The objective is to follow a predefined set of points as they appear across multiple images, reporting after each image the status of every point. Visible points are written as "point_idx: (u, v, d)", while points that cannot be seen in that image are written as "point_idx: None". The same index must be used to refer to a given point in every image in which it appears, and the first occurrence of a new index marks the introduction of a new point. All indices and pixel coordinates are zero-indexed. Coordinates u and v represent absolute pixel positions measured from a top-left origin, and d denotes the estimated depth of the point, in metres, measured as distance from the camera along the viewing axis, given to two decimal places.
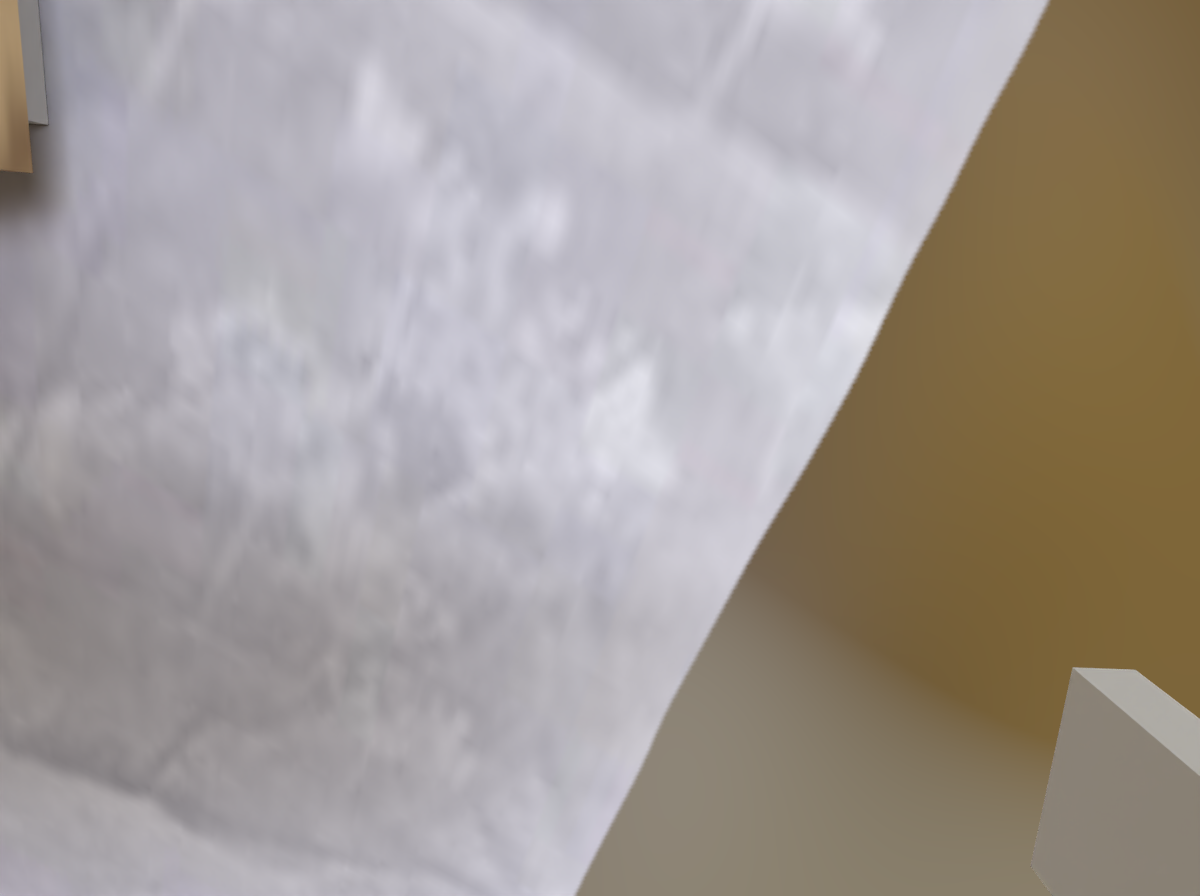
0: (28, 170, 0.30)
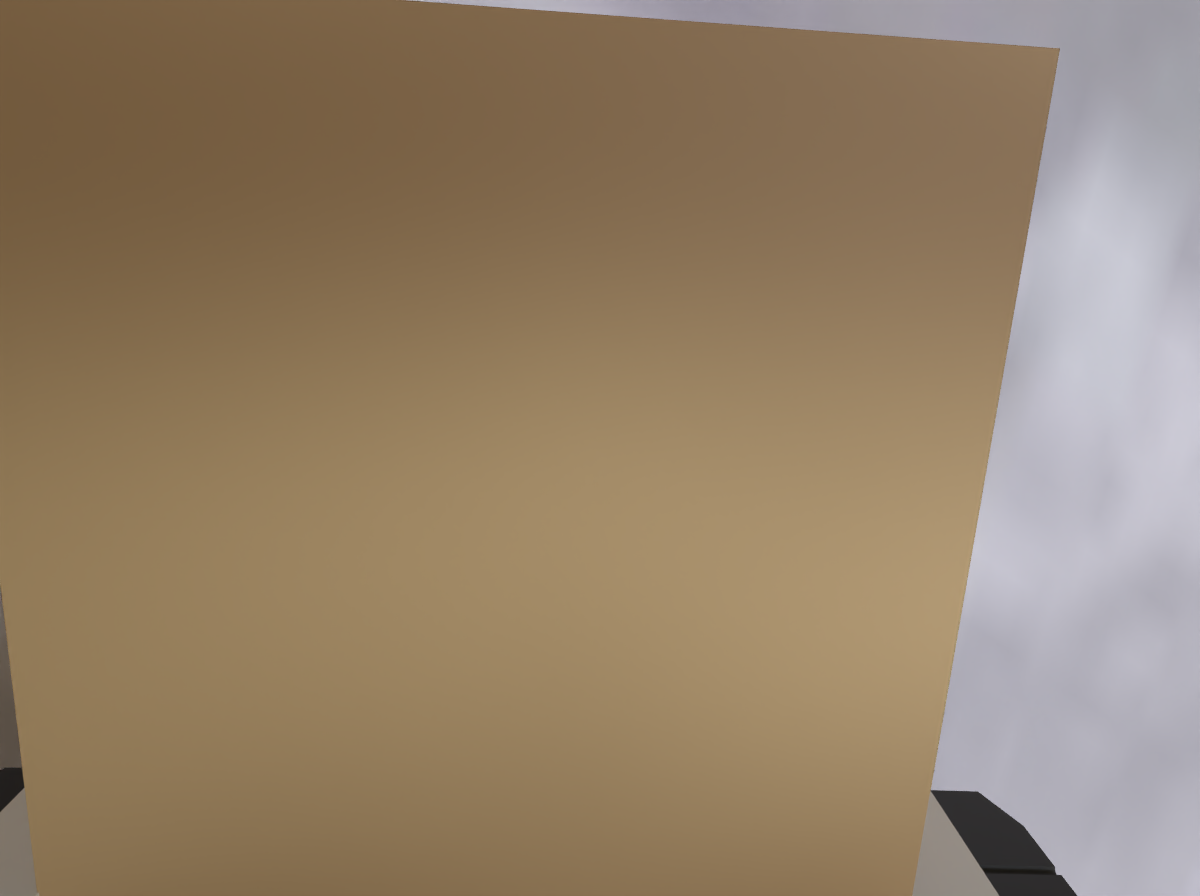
0: None
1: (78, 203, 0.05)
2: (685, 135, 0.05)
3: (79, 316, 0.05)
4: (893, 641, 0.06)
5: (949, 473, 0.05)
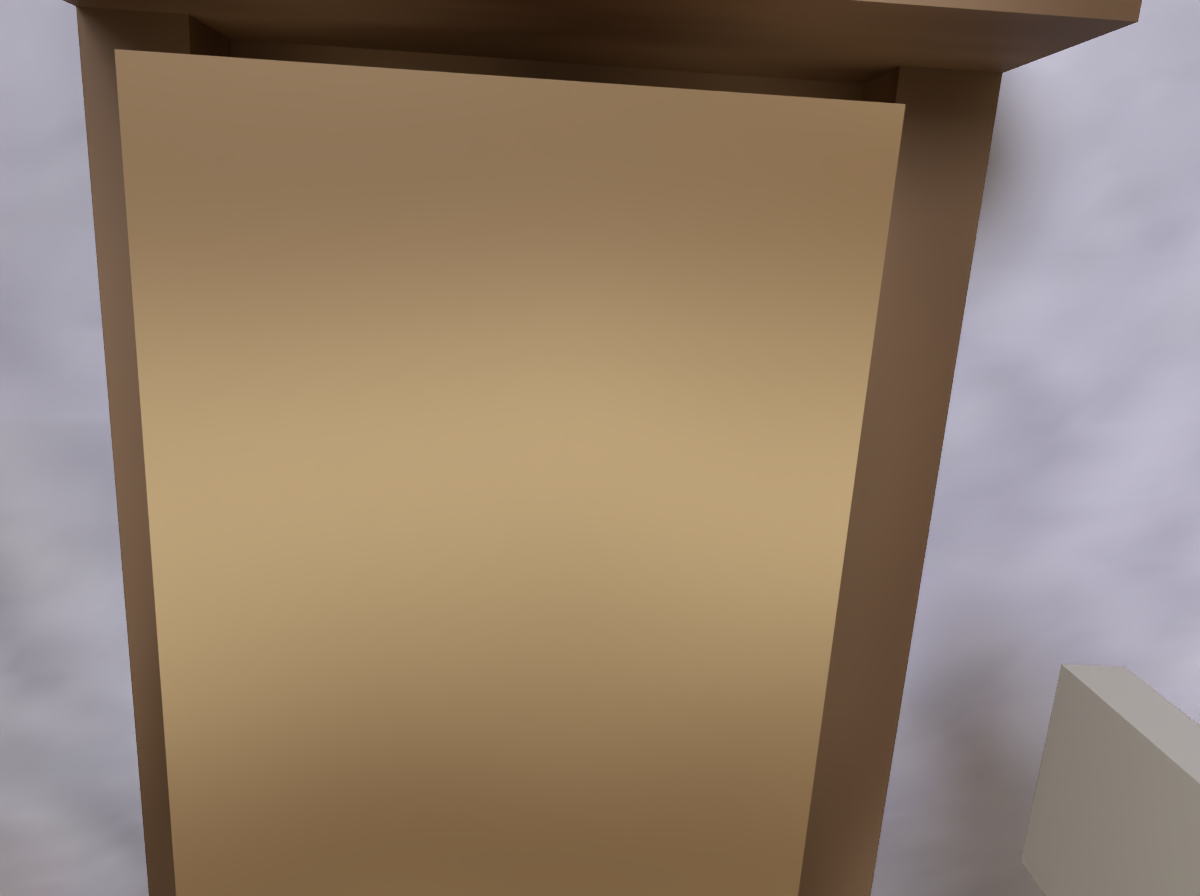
0: None
1: (213, 213, 0.07)
2: (642, 165, 0.07)
3: (211, 293, 0.07)
4: (800, 536, 0.07)
5: (837, 409, 0.07)
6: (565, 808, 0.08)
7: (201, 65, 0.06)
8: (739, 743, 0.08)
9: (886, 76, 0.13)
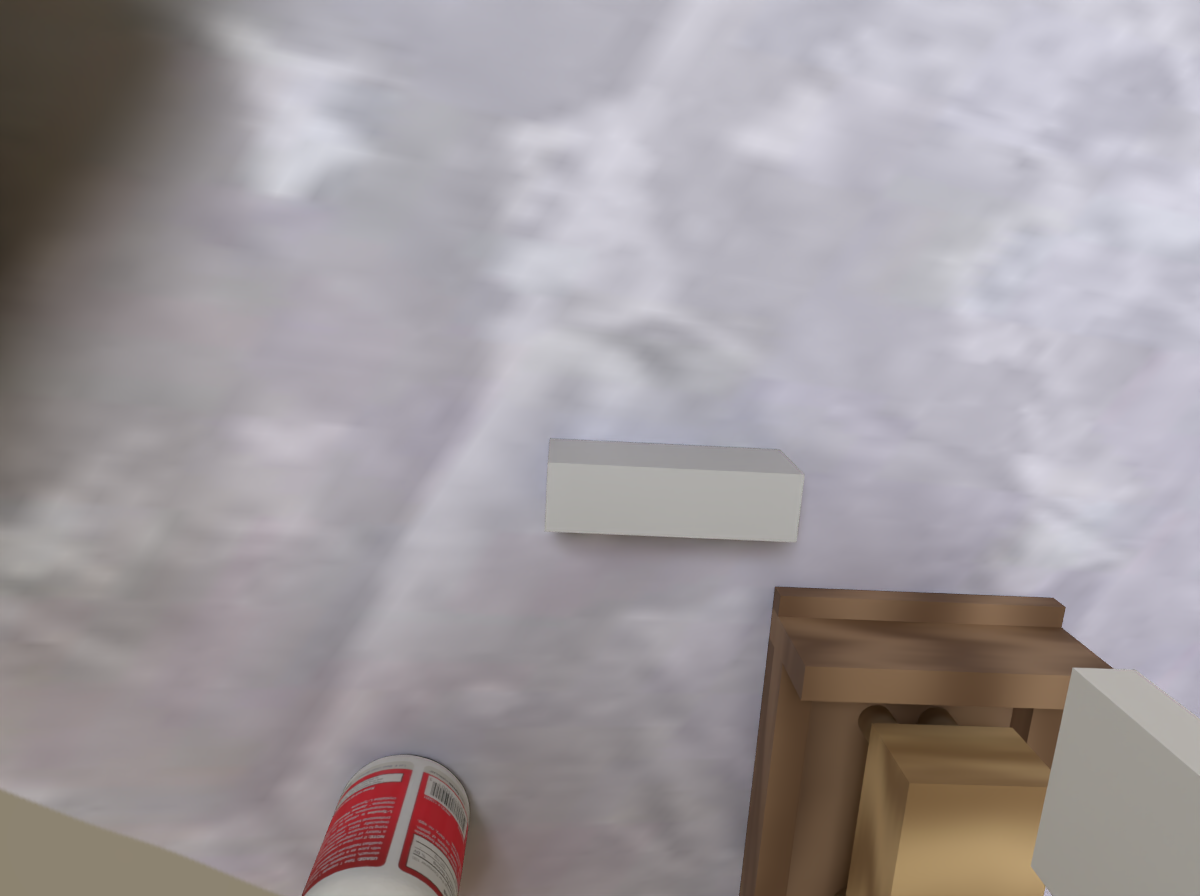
0: None
1: (922, 810, 0.32)
2: (1011, 799, 0.32)
3: (918, 824, 0.32)
4: None
5: None
6: None
7: (926, 785, 0.31)
8: None
9: None
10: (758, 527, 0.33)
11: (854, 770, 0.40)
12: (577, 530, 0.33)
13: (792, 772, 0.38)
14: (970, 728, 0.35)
